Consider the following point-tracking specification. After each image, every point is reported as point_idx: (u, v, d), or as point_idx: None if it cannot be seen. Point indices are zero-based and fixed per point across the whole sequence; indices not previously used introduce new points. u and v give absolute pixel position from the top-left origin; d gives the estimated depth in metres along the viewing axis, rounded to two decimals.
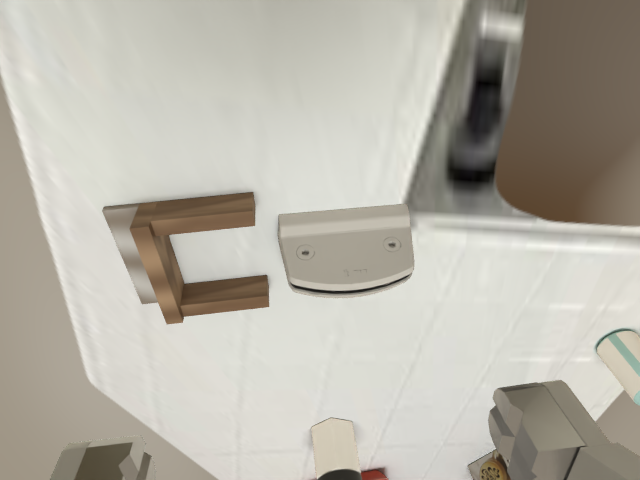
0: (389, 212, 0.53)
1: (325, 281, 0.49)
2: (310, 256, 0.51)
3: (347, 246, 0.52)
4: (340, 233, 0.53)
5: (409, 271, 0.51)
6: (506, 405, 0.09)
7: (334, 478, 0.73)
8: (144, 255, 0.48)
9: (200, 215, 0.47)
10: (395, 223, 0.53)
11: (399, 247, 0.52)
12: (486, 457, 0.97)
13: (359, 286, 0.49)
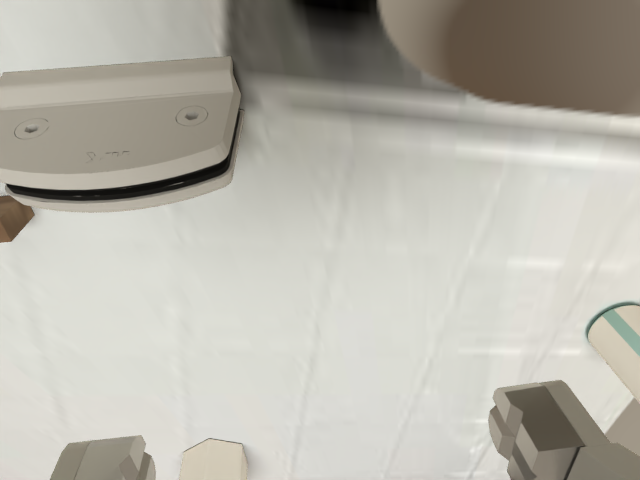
0: (195, 67, 0.30)
1: (45, 169, 0.26)
2: (38, 133, 0.28)
3: (111, 119, 0.29)
4: (107, 101, 0.30)
5: (213, 156, 0.28)
6: (506, 405, 0.09)
7: None
8: None
9: None
10: (205, 85, 0.30)
11: (203, 119, 0.29)
12: None
13: (111, 180, 0.26)
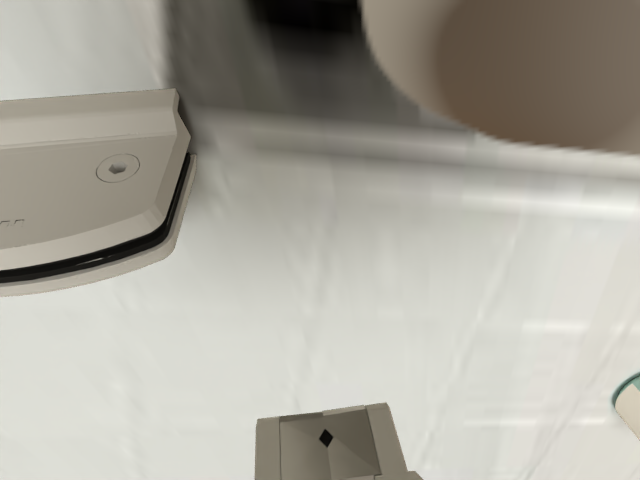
0: (128, 103, 0.23)
1: None
2: None
3: (9, 173, 0.22)
4: (10, 147, 0.23)
5: (141, 225, 0.20)
6: (324, 428, 0.09)
7: None
8: None
9: None
10: (140, 126, 0.23)
11: (132, 173, 0.22)
12: None
13: None
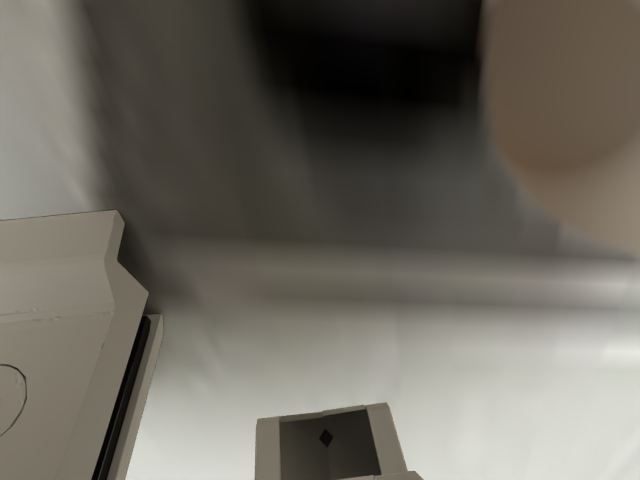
0: (18, 249, 0.12)
1: None
2: None
3: None
4: None
5: None
6: (324, 428, 0.09)
7: None
8: None
9: None
10: (41, 296, 0.12)
11: (6, 425, 0.10)
12: None
13: None
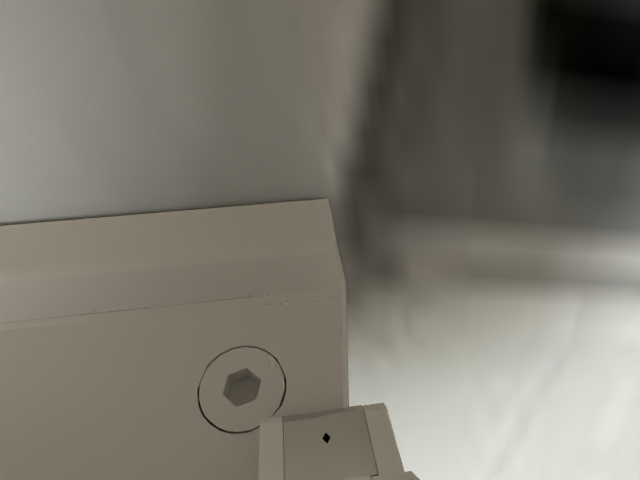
0: (247, 235, 0.12)
1: None
2: None
3: (16, 400, 0.10)
4: (18, 327, 0.12)
5: None
6: (321, 429, 0.09)
7: None
8: None
9: None
10: (273, 281, 0.12)
11: (276, 404, 0.10)
12: None
13: None
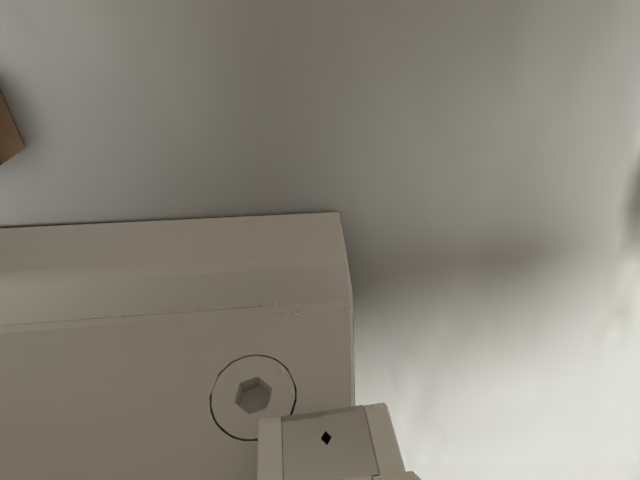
0: (261, 245, 0.12)
1: None
2: None
3: (30, 402, 0.11)
4: (31, 329, 0.12)
5: None
6: (322, 429, 0.09)
7: None
8: None
9: None
10: (284, 291, 0.12)
11: (286, 413, 0.11)
12: None
13: None
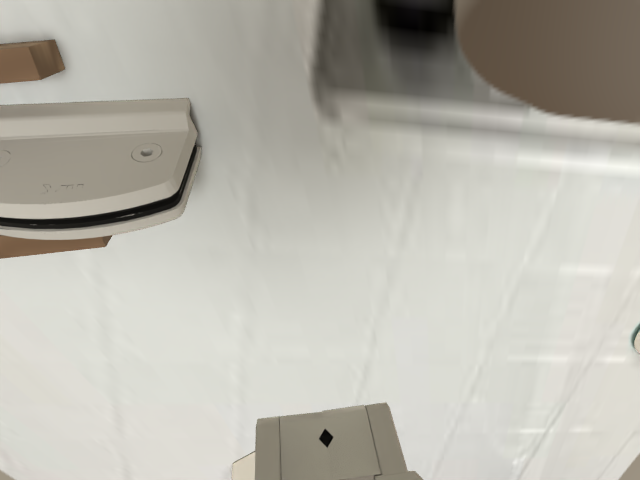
0: (154, 108, 0.33)
1: (1, 199, 0.28)
2: None
3: (70, 153, 0.31)
4: (69, 136, 0.32)
5: (163, 191, 0.30)
6: (324, 428, 0.09)
7: None
8: None
9: None
10: (162, 124, 0.33)
11: (157, 156, 0.31)
12: None
13: (64, 210, 0.28)
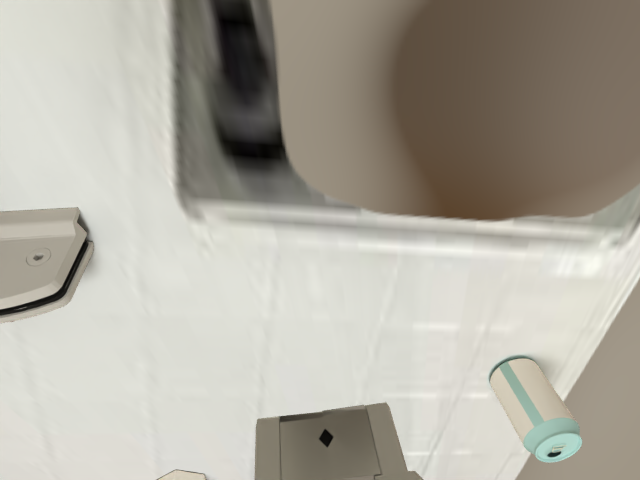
0: (48, 217, 0.42)
1: None
2: None
3: None
4: None
5: (46, 291, 0.39)
6: (324, 428, 0.09)
7: None
8: None
9: None
10: (54, 231, 0.42)
11: (46, 260, 0.40)
12: None
13: None
